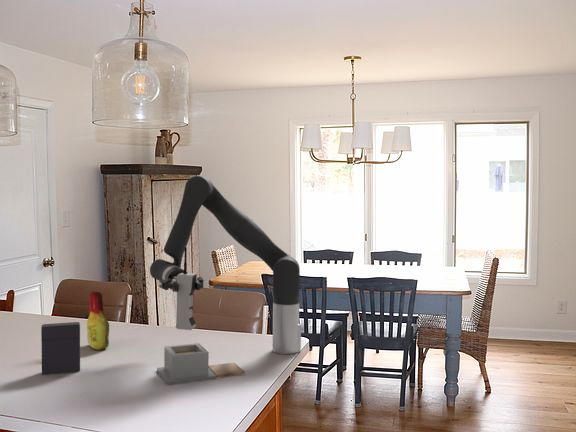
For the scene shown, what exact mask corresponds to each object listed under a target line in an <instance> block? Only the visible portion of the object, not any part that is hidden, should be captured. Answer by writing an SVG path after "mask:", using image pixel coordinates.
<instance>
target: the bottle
mask: <svg viewBox="0 0 576 432" xmlns="http://www.w3.org/2000/svg"><path fill="white" fill-rule="evenodd" d="M103 302H104V301H103V295H102V293H101V292H100V291H91V293H90V294H89V316H88V317H87V320H86V331H87V333H86V337H87V343H88V345H89V346H90V347H91V348H92V349H95V350H99V351H101V350H104V349H107V348H108V347H109V343H110V342H109V337H110V336H109V335H110V324H109V321H108V318H107V316H106V315H105V313H104V303H103Z"/></svg>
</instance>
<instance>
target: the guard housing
mask: <svg viewBox="0 0 576 432" xmlns="http://www.w3.org/2000/svg"><path fill="white" fill-rule="evenodd" d="M193 351H195V352H193ZM184 352H192V353H184ZM176 353H182V354H176ZM163 357H164V358H163V359H164V365H163V366H162V367H156V371H157V373H158V375H159V377H160V378H161V380H162V382H164V384H165V385H166V386H171V385H179V384H180V385H181V384H186V383H196V382H203V381H212V380H217V377H216V375H215V374H214V373H213V372H212V371H211V370H210V369H209V368H208V366H209V362H210V361H209V351H208V350H207V349H206V348H205V347H204V346H203V345H202V344H201V343H200V342H195V343H194V342H193V343H185V344H177V345H176V344H175V345H166V346H164V356H163Z"/></svg>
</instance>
